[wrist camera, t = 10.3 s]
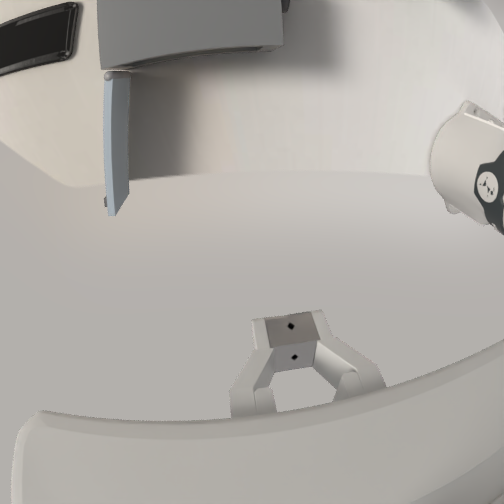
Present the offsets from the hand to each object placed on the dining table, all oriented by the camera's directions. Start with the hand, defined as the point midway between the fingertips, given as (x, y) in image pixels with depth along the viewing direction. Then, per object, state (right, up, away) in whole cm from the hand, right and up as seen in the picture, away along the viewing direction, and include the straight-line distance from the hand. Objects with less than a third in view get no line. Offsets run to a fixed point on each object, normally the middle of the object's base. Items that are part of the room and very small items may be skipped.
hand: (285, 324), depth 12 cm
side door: (-16, +16, +17) cm, 28 cm away
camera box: (-8, +28, +11) cm, 31 cm away
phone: (-29, +29, +8) cm, 42 cm away
